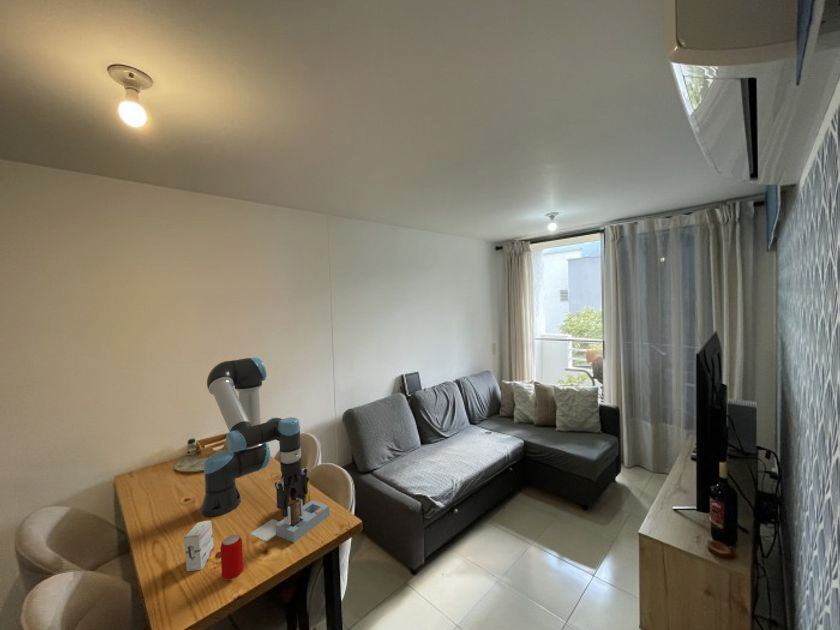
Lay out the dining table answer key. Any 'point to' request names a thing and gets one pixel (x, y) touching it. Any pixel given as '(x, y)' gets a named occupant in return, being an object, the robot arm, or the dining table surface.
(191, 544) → the ink box
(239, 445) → the robot arm
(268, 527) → the white flat square
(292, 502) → the plug
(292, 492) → the mug
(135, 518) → the dining table surface
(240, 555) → the beverage can
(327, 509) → the socket block
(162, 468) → the dining table surface
